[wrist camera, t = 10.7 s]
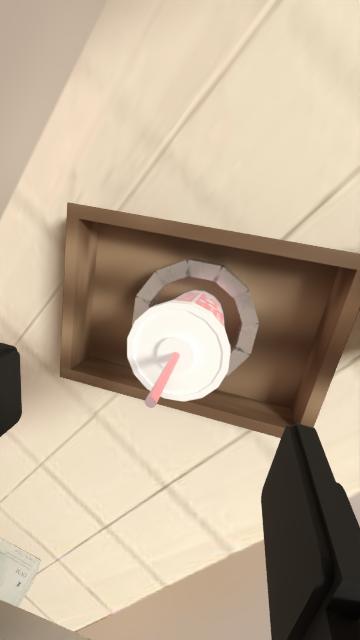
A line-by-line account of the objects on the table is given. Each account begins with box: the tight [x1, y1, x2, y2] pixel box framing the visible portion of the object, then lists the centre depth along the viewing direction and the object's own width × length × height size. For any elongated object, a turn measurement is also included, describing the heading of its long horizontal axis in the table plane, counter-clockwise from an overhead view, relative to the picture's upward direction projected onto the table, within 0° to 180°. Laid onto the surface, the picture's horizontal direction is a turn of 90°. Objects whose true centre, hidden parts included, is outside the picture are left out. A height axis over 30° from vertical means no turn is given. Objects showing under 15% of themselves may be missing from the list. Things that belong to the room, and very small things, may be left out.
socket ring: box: [132, 258, 259, 377], centre depth 23 cm, size 10×10×2 cm
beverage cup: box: [127, 290, 231, 408], centre depth 17 cm, size 6×6×14 cm
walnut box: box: [60, 202, 360, 438], centre depth 23 cm, size 15×22×4 cm
